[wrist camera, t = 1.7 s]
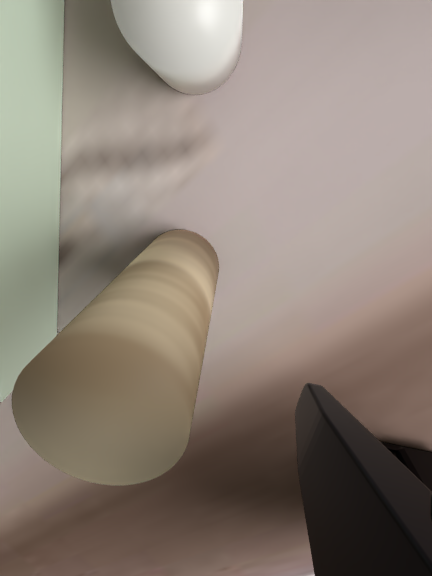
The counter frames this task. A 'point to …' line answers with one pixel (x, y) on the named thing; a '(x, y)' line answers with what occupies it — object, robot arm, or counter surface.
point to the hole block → (29, 179)
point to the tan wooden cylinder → (125, 369)
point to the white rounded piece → (184, 39)
